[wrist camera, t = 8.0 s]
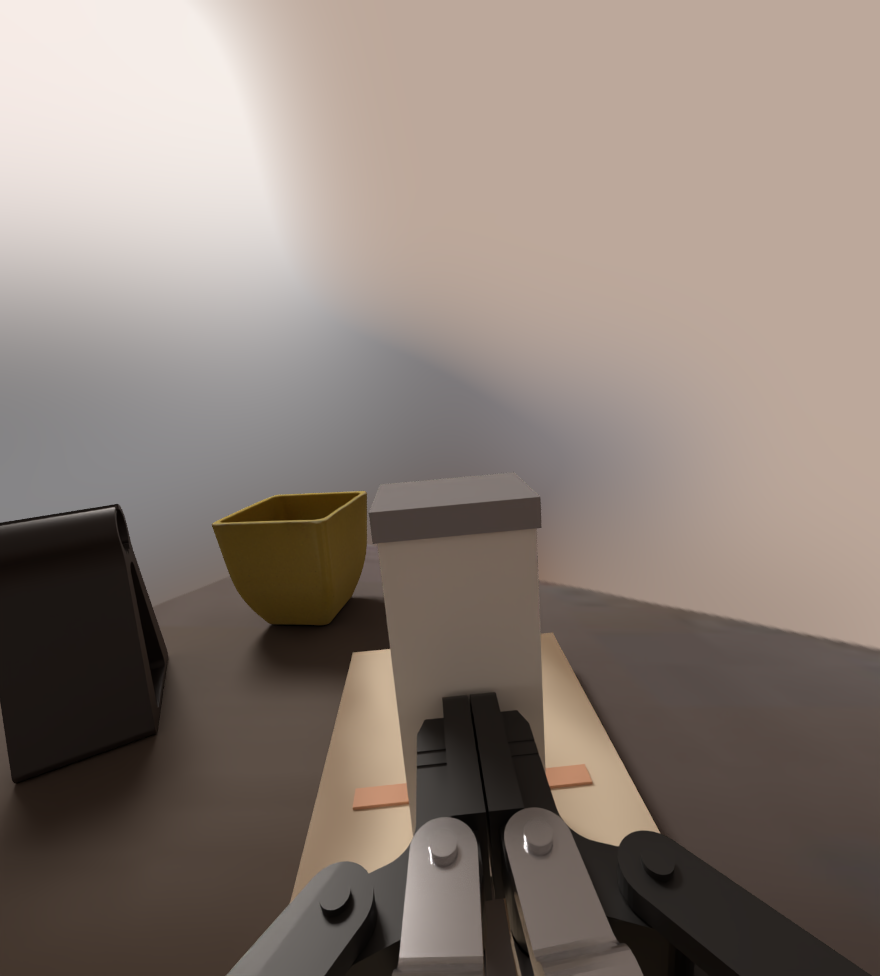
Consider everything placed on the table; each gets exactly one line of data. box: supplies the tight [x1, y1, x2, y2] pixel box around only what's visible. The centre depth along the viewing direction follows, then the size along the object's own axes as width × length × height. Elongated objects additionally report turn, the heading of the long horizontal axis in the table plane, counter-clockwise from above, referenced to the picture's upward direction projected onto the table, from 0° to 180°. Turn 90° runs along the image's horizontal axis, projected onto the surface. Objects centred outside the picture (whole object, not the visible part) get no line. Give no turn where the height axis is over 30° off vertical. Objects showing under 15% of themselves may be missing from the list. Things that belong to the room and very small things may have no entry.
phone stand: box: [0, 504, 168, 783], centre depth 26 cm, size 9×6×12 cm, turn 27°
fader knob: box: [369, 473, 546, 876], centre depth 14 cm, size 4×3×12 cm
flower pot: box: [212, 491, 367, 625], centre depth 36 cm, size 9×9×9 cm
